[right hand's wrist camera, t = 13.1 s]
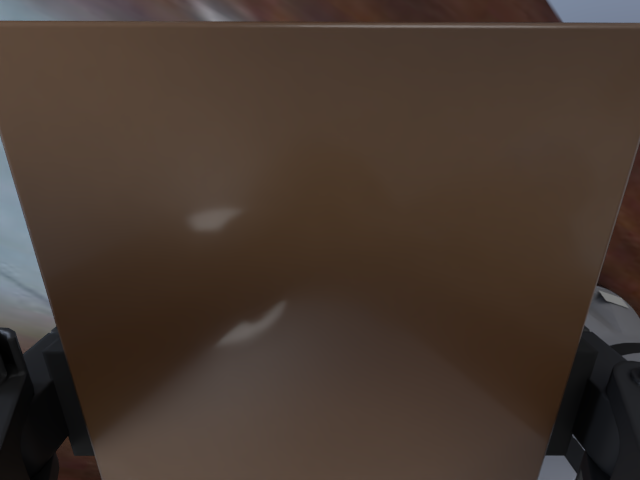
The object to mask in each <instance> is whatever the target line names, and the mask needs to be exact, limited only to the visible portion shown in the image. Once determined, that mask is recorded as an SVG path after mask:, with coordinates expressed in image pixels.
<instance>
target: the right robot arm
mask: <svg viewBox="0 0 640 480" xmlns="http://www.w3.org/2000/svg"><path fill="white" fill-rule="evenodd" d="M67 436H68V437H69V440H70V443H71V446H72V449H73V453H74V456H95V455H94V451H93V448H92V444H91V441H90V438H89V434H88V431H87V428H86V424H85V421H84V417H83V414H82V411H81V407H80V404H79V400H78V397H77V394H76V390H75V387H74V384H73V380H72V377H71V373H70V370H69V367H68V363H67V360H66V356H65V353H64V350H63V346H62V343H61V339H60V336H59V333H58V329H57V326H56V327H55V328H54V329H53V330H51V333H48V334H47V335H45V336H44V337H43V338H42V339H41V340H39V341H38V342H37V343H36V344H35V345H33V346H32V347H31V348H30V349H29V350H27V351H26V352H25V353H24V354H22V351H21V348H20V345H19V342H18V339H17V336H16V333H15V331H13V330H11V329H9V328H0V480H57V479H58V473H59V462H58V458H57V455H56V451H57V449H58V448H59V447H60V445H61V444H62V443H63V441H64V440H65V439H66V438H67ZM538 480H640V318H639V317H638V315H637V314H636V312H635V311H634V310H633V309H632V307H631V306H630V305H629V304H628V303H627V302H625V301H624V300H623V299H622V298H621V297H620V296H618V295H617V294H615V293H614V292H612V291H611V290H609V289H607V288H606V287H604V286H602V285H599V284H597V286H596V289H595V292H594V295H593V299H592V302H591V305H590V309H589V312H588V315H587V319H586V322H585V325H584V329H583V332H582V335H581V339H580V342H579V345H578V348H577V352H576V355H575V358H574V362H573V365H572V368H571V372H570V375H569V378H568V382H567V385H566V388H565V392H564V395H563V398H562V402H561V405H560V408H559V411H558V415H557V418H556V421H555V425H554V428H553V431H552V435H551V438H550V441H549V445H548V448H547V451H546V455H545V458H544V461H543V464H542V468H541V471H540V474H539V478H538Z"/></svg>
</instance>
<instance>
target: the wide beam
mask: <svg viewBox="0 0 640 480" xmlns="http://www.w3.org/2000/svg"><path fill="white" fill-rule="evenodd" d="M0 136H1V140H2V143H3V146H4V150H5V153H6V157H7V160H8V163H9V167H10V170H11V173H12V177H13V180H14V184H15V187H16V190H17V194H18V197H19V201H20V204H21V207H22V211H23V214H24V218H25V221H26V224H27V228H28V231H29V234H30V238H31V241H32V245H33V248H34V251H35V255H36V258H37V262H38V265H39V268H40V272H41V275H42V278H43V282H44V285H45V289H46V292H47V295H48V299H49V302H50V306H51V309H52V312H53V316H54V319H55V323H56V326H57V329H58V333H59V336H60V339H61V343H62V346H63V350H64V353H65V356H66V360H67V363H68V367H69V370H70V373H71V377H72V380H73V384H74V387H75V390H76V394H77V397H78V400H79V404H80V407H81V411H82V414H83V417H84V421H85V424H86V428H87V431H88V434H89V438H90V441H91V444H92V448H93V451H94V455H95V458H96V461H97V465H98V468H99V472H100V475H101V478H102V480H538V478H539V474H540V471H541V468H542V464H543V461H544V458H545V455H546V451H547V448H548V445H549V441H550V438H551V435H552V431H553V428H554V425H555V421H556V418H557V415H558V411H559V408H560V405H561V402H562V398H563V395H564V392H565V388H566V385H567V382H568V378H569V375H570V372H571V368H572V365H573V362H574V358H575V355H576V352H577V348H578V345H579V342H580V339H581V335H582V332H583V329H584V325H585V322H586V319H587V315H588V312H589V309H590V305H591V302H592V299H593V295H594V292H595V289H596V286H597V282H598V279H599V276H600V272H601V269H602V266H603V262H604V259H605V256H606V252H607V249H608V246H609V242H610V239H611V236H612V233H613V229H614V226H615V223H616V219H617V216H618V213H619V209H620V206H621V203H622V199H623V196H624V193H625V189H626V186H627V183H628V180H629V176H630V173H631V170H632V166H633V163H634V160H635V156H636V153H637V150H638V146H639V143H640V23H514V22H209V21H0Z"/></svg>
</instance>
